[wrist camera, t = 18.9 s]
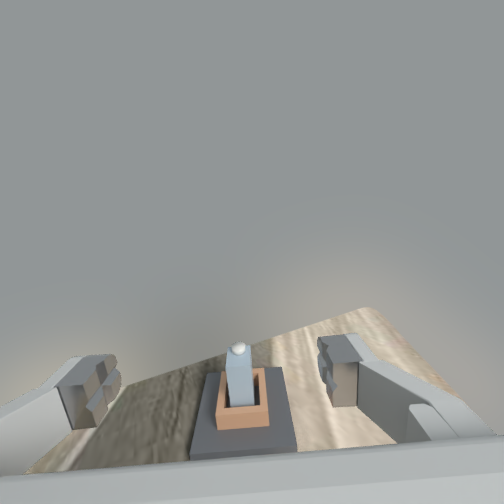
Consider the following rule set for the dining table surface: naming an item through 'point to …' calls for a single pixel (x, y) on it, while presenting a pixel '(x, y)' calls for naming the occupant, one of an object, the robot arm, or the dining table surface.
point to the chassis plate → (244, 419)
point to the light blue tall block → (240, 375)
